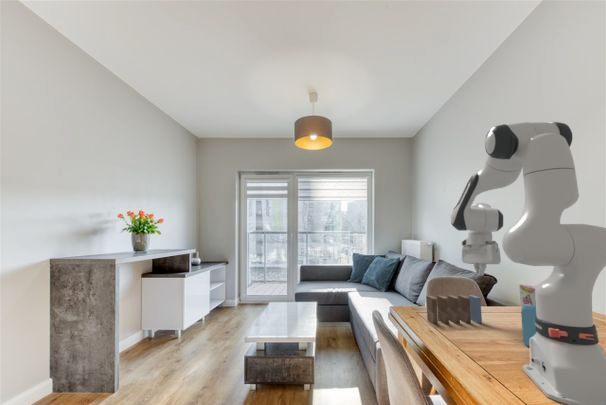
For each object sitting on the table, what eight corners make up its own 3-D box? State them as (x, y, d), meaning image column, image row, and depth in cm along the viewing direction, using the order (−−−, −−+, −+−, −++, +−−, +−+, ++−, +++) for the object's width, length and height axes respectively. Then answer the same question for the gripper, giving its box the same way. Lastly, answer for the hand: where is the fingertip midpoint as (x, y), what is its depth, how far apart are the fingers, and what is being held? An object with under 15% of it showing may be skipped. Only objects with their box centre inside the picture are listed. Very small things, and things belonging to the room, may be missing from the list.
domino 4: (463, 319, 125) (462, 295, 126) (471, 323, 120) (469, 297, 121) (459, 319, 125) (458, 295, 126) (466, 323, 120) (464, 297, 121)
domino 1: (432, 320, 124) (431, 295, 125) (437, 324, 119) (436, 298, 120) (427, 320, 124) (426, 295, 125) (433, 324, 119) (431, 298, 120)
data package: (571, 350, 93) (568, 310, 94) (573, 355, 90) (569, 313, 91) (524, 341, 101) (521, 304, 102) (523, 345, 97) (520, 307, 98)
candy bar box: (521, 328, 113) (518, 284, 115) (536, 329, 112) (533, 284, 114) (538, 339, 102) (534, 290, 104) (555, 340, 101) (551, 290, 103)
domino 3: (453, 319, 125) (452, 295, 126) (460, 323, 120) (458, 298, 121) (448, 319, 125) (447, 295, 126) (455, 323, 120) (453, 298, 121)
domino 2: (442, 320, 125) (441, 295, 125) (449, 323, 120) (447, 298, 121) (438, 320, 125) (436, 295, 125) (444, 323, 120) (442, 298, 120)
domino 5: (474, 319, 125) (473, 295, 126) (482, 323, 120) (480, 297, 121) (469, 319, 125) (468, 295, 126) (477, 323, 120) (475, 297, 121)
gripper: (505, 241, 117) (505, 277, 115) (472, 244, 137) (472, 274, 135) (489, 239, 117) (489, 275, 114) (459, 242, 137) (458, 273, 134)
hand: (479, 275), depth 125 cm, fingers closed
